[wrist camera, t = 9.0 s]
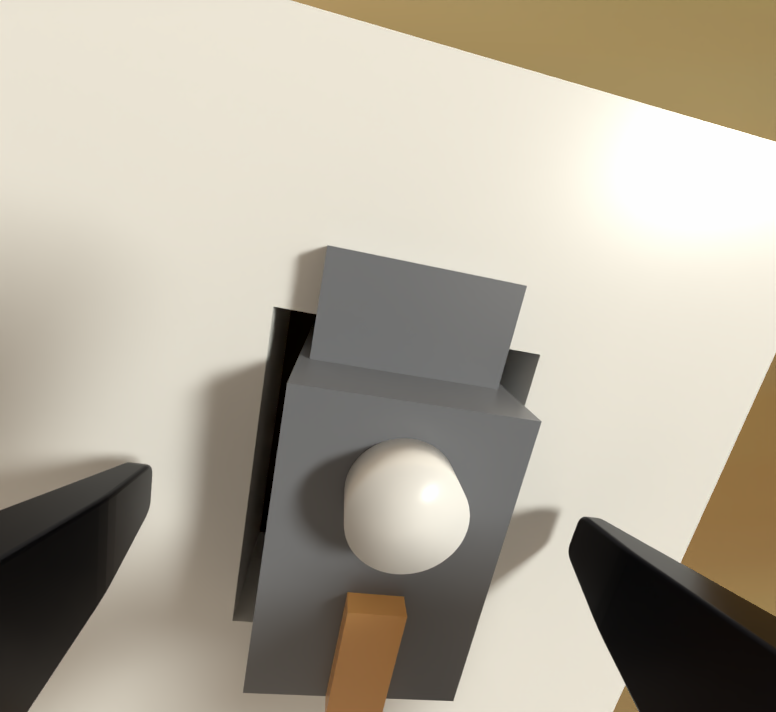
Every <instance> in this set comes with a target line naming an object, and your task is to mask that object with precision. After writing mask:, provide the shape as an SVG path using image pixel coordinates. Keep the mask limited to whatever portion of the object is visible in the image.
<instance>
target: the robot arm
mask: <svg viewBox="0 0 776 712" xmlns="http://www.w3.org/2000/svg"><path fill="white" fill-rule="evenodd" d="M151 488H152V468H151V466H150V465H148V464H141V463H133V462H127V463H124V464H121V465H119V466H116V467H113V468H111V469H108V470H105V471H103V472H100V473H97V474H95V475H92V476H89V477H87V478H84V479H81V480H79V481H76V482H73V483H71V484H68V485H65V486H63V487H60V488H58V489H55V490H52V491H50V492H47V493H44V494H42V495H39V496H36V497H34V498H31V499H28V500H26V501H23V502H20V503H18V504H15V505H12V506H10V507H7V508H4V509H2V510H0V712H28V711H29V709H30V708H31V706H32V705H33V703H34V702H35V700H36V698H37V697H38V695H39V694H40V692H41V691H42V689H43V688H44V686H45V685H46V683H47V682H48V680H49V679H50V677H51V676H52V674H53V673H54V671H55V670H56V668H57V667H58V665H59V664H60V662H61V661H62V659H63V658H64V656H65V655H66V653H67V652H68V650H69V649H70V647H71V646H72V644H73V643H74V641H75V640H76V638H77V636H78V635H79V633H80V632H81V630H82V629H83V627H84V626H85V624H86V623H87V621H88V620H89V618H90V617H91V615H92V614H93V612H94V611H95V609H96V608H97V606H98V605H99V603H100V601H101V600H102V598H103V597H104V595H105V593H106V592H107V590H108V588H109V586H110V584H111V583H112V581H113V579H114V577H115V575H116V573H117V571H118V569H119V567H120V566H121V564H122V562H123V560H124V558H125V556H126V554H127V552H128V550H129V548H130V547H131V545H132V543H133V541H134V539H135V537H136V535H137V533H138V531H139V529H140V527H141V526H142V524H143V522H144V520H145V518H146V516H147V514H148V511H149V508H150V503H151ZM568 553H569V559H570V562H571V564H572V567H573V569H574V571H575V574H576V576H577V579H578V581H579V584H580V586H581V589H582V591H583V594H584V596H585V599H586V601H587V604H588V606H589V609H590V611H591V614H592V616H593V619H594V621H595V623H596V626H597V628H598V630H599V632H600V634H601V637H602V639H603V641H604V643H605V645H606V647H607V649H608V651H609V653H610V655H611V657H612V659H613V661H614V663H615V665H616V667H617V669H618V671H619V673H620V675H621V677H622V679H623V681H624V683H625V685H626V687H627V689H628V691H629V693H630V695H631V697H632V699H633V701H634V703H635V705H636V707H637V709H638V711H639V712H776V617H775V616H773V615H772V614H770V613H768V612H766V611H765V610H763V609H761V608H759V607H757V606H756V605H754V604H752V603H750V602H749V601H747V600H745V599H743V598H741V597H740V596H738V595H736V594H734V593H733V592H731V591H729V590H727V589H726V588H724V587H722V586H720V585H718V584H717V583H715V582H713V581H711V580H710V579H708V578H706V577H704V576H702V575H701V574H699V573H697V572H695V571H694V570H692V569H690V568H688V567H686V566H685V565H683V564H681V563H679V562H678V561H676V560H674V559H672V558H670V557H669V556H667V555H665V554H663V553H662V552H660V551H658V550H656V549H654V548H653V547H651V546H649V545H647V544H646V543H644V542H642V541H640V540H638V539H637V538H635V537H633V536H631V535H630V534H628V533H626V532H624V531H622V530H621V529H619V528H617V527H615V526H614V525H612V524H610V523H608V522H606V521H605V520H603V519H600V518H595V517H582V518H580V519H579V521H578V523H577V526H576V528H575V531H574V534H573V536H572V539H571V542H570V545H569V550H568Z"/></svg>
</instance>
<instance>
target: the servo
mask: <svg viewBox="0 0 776 712" xmlns="http://www.w3.org/2000/svg"><path fill="white" fill-rule="evenodd" d="M526 288H527V286H525V285H521V284H516V283H512V282H507V281H502V280H497V279H492V278H487V277H482V276H477V275H472V274H467V273H462V272H458V271H453V270H448V269H443V268H438V267H433V266H428V265H423V264H418V263H413V262H409V261H404V260H399V259H394V258H389V257H384V256H379V255H374V254H369V253H364V252H359V251H355V250H350V249H345V248H340V247H335V246H330V245H327V250H326V257H325V263H324V270H323V276H322V283H321V289H320V296H319V302H318V308H317V315H316V321H314V323H313V325H312V327H311V330H310V332H309V334H308V336H307V339H306V341H305V343H304V345H303V348H302V350H301V352H300V355H299V357H298V359H297V361H296V364H295V366H294V368H293V371H292V373H291V375H290V377H289V380H288V382H287V387H286V394H285V401H284V408H283V415H282V422H281V429H280V436H279V443H278V450H277V457H276V464H275V471H274V478H273V485H272V492H271V499H270V506H269V513H268V520H267V527H266V534H265V541H264V548H263V555H262V562H261V569H260V576H259V583H258V590H257V597H256V604H255V611H254V618H253V625H252V632H251V639H250V646H249V653H248V660H247V667H246V674H245V681H244V688H243V693H257V694H282V695H308V696H326V698H325V712H383V708H384V704H385V700H386V699H409V700H435V701H454V698H455V694H456V691H457V688H458V685H459V682H460V679H461V675H462V672H463V669H464V666H465V663H466V660H467V656H468V653H469V650H470V647H471V644H472V641H473V637H474V634H475V631H476V628H477V625H478V622H479V618H480V615H481V612H482V609H483V606H484V603H485V599H486V596H487V593H488V590H489V587H490V584H491V580H492V577H493V574H494V571H495V568H496V565H497V561H498V558H499V555H500V552H501V549H502V546H503V542H504V539H505V536H506V533H507V530H508V527H509V523H510V520H511V517H512V514H513V511H514V508H515V504H516V501H517V498H518V495H519V492H520V489H521V486H522V482H523V479H524V476H525V473H526V470H527V467H528V463H529V460H530V457H531V454H532V451H533V448H534V444H535V441H536V438H537V435H538V432H539V429H540V425H541V422H542V421H541V420H539V419H538V418H537V417H536V416H535V415H534V414H533V413H532V412H531V411H529V410H528V409H527V408H526V407H525V406H524V405H523V404H522V403H521V402H519V401H518V400H517V399H516V398H515V397H514V396H513V395H512V394H511V393H509V392H508V391H507V390H506V389H505V388H504V387H503V386H502V385H501V384H500V380H501V377H502V373H503V370H504V366H505V363H506V359H507V355H508V352H509V348H510V345H511V341H512V338H513V334H514V331H515V327H516V323H517V320H518V316H519V313H520V309H521V306H522V302H523V299H524V295H525V291H526Z"/></svg>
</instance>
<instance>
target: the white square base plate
mask: <svg viewBox="0 0 776 712" xmlns="http://www.w3.org/2000/svg"><path fill="white" fill-rule="evenodd" d="M327 245H330V246H335V247H340V248H345V249H350V250H355V251H359V252H364V253H369V254H374V255H379V256H384V257H389V258H394V259H399V260H404V261H409V262H413V263H418V264H423V265H428V266H433V267H438V268H443V269H448V270H453V271H458V272H462V273H467V274H472V275H477V276H482V277H487V278H492V279H497V280H502V281H507V282H512V283H516V284H521V285H525V286H527V288H526V291H525V295H524V299H523V302H522V306H521V309H520V313H519V316H518V320H517V323H516V327H515V331H514V334H513V338H512V341H511V345H510V348H509V352H508V355H507V359H506V363H505V366H504V370H503V373H502V377H501V380H500V384H501V385H502V386H503V387H504V388H505V389H506V390H507V391H508V392H509V393H511V394H512V395H513V396H514V397H515V398H516V399H517V400H518V401H519V402H521V403H522V404H523V405H524V406H525V407H526V408H527V409H528V410H529V411H531V412H532V413H533V414H534V415H535V416H536V417H537V418H538V419H539V420H541V421H542V422H541V425H540V429H539V432H538V435H537V438H536V441H535V444H534V448H533V451H532V454H531V457H530V460H529V463H528V467H527V470H526V473H525V476H524V479H523V482H522V486H521V489H520V492H519V495H518V498H517V501H516V504H515V508H514V511H513V514H512V517H511V520H510V523H509V527H508V530H507V533H506V536H505V539H504V542H503V546H502V549H501V552H500V555H499V558H498V561H497V565H496V568H495V571H494V574H493V577H492V580H491V584H490V587H489V590H488V593H487V596H486V599H485V603H484V606H483V609H482V612H481V615H480V618H479V622H478V625H477V628H476V631H475V634H474V637H473V641H472V644H471V647H470V650H469V653H468V656H467V660H466V663H465V666H464V669H463V672H462V675H461V679H460V682H459V685H458V688H457V691H456V694H455V698H454V701H435V700H409V699H386V700H385V704H384V708H383V712H613V710H614V708H615V706H616V704H617V702H618V699H619V697H620V695H621V693H622V691H623V688H624V686H625V683H624V681H623V679H622V677H621V675H620V673H619V671H618V669H617V667H616V665H615V663H614V661H613V659H612V657H611V655H610V653H609V651H608V649H607V647H606V645H605V643H604V641H603V639H602V637H601V634H600V632H599V630H598V628H597V626H596V623H595V621H594V619H593V616H592V614H591V611H590V609H589V606H588V604H587V601H586V599H585V596H584V594H583V591H582V589H581V586H580V584H579V581H578V579H577V576H576V574H575V571H574V569H573V567H572V564H571V562H570V559H569V553H568V550H569V545H570V542H571V539H572V536H573V534H574V531H575V528H576V526H577V523H578V521H579V519H580V518H582V517H595V518H600V519H603V520H605V521H606V522H608V523H610V524H612V525H614V526H615V527H617V528H619V529H621V530H622V531H624V532H626V533H628V534H630V535H631V536H633V537H635V538H637V539H638V540H640V541H642V542H644V543H646V544H647V545H649V546H651V547H653V548H654V549H656V550H658V551H660V552H662V553H663V554H665V555H667V556H669V557H670V558H672V559H674V560H676V561H678V562H679V563H681V560H682V558H683V556H684V554H685V552H686V549H687V547H688V545H689V543H690V541H691V538H692V536H693V534H694V532H695V529H696V527H697V525H698V523H699V521H700V518H701V516H702V514H703V512H704V510H705V507H706V505H707V503H708V501H709V499H710V496H711V494H712V492H713V490H714V488H715V485H716V483H717V481H718V479H719V477H720V474H721V472H722V470H723V468H724V466H725V463H726V461H727V459H728V457H729V454H730V452H731V450H732V448H733V446H734V443H735V441H736V439H737V437H738V435H739V432H740V430H741V428H742V426H743V424H744V421H745V419H746V417H747V415H748V413H749V410H750V408H751V406H752V404H753V402H754V399H755V397H756V395H757V393H758V390H759V388H760V386H761V384H762V382H763V379H764V377H765V375H766V373H767V371H768V368H769V366H770V364H771V362H772V360H773V357H774V355H775V353H776V142H774V141H771V140H767V139H764V138H760V137H757V136H753V135H750V134H747V133H743V132H740V131H736V130H733V129H729V128H726V127H723V126H719V125H716V124H712V123H709V122H705V121H702V120H699V119H695V118H692V117H688V116H685V115H681V114H678V113H675V112H671V111H668V110H664V109H661V108H657V107H654V106H651V105H647V104H644V103H640V102H637V101H633V100H630V99H627V98H623V97H620V96H616V95H613V94H609V93H606V92H603V91H599V90H596V89H592V88H589V87H586V86H582V85H579V84H575V83H572V82H568V81H565V80H562V79H558V78H555V77H551V76H548V75H544V74H541V73H538V72H534V71H531V70H527V69H524V68H520V67H517V66H514V65H510V64H507V63H503V62H500V61H496V60H493V59H490V58H486V57H483V56H479V55H476V54H472V53H469V52H466V51H462V50H459V49H455V48H452V47H448V46H445V45H442V44H438V43H435V42H431V41H428V40H424V39H421V38H418V37H414V36H411V35H407V34H404V33H400V32H397V31H394V30H390V29H387V28H383V27H380V26H377V25H373V24H370V23H366V22H363V21H359V20H356V19H353V18H349V17H346V16H342V15H339V14H335V13H332V12H329V11H325V10H322V9H318V8H315V7H311V6H308V5H305V4H301V3H298V2H294V1H291V0H0V510H2V509H4V508H7V507H10V506H12V505H15V504H18V503H20V502H23V501H26V500H28V499H31V498H34V497H36V496H39V495H42V494H44V493H47V492H50V491H52V490H55V489H58V488H60V487H63V486H65V485H68V484H71V483H73V482H76V481H79V480H81V479H84V478H87V477H89V476H92V475H95V474H97V473H100V472H103V471H105V470H108V469H111V468H113V467H116V466H119V465H121V464H124V463H127V462H133V463H141V464H148V465H150V466H151V468H152V488H151V503H150V508H149V511H148V514H147V516H146V518H145V520H144V522H143V524H142V526H141V527H140V529H139V531H138V533H137V535H136V537H135V539H134V541H133V543H132V545H131V547H130V548H129V550H128V552H127V554H126V556H125V558H124V560H123V562H122V564H121V566H120V567H119V569H118V571H117V573H116V575H115V577H114V579H113V581H112V583H111V584H110V586H109V588H108V590H107V592H106V593H105V595H104V597H103V598H102V600H101V601H100V603H99V605H98V606H97V608H96V609H95V611H94V612H93V614H92V615H91V617H90V618H89V620H88V621H87V623H86V624H85V626H84V627H83V629H82V630H81V632H80V633H79V635H78V636H77V638H76V640H75V641H74V643H73V644H72V646H71V647H70V649H69V650H68V652H67V653H66V655H65V656H64V658H63V659H62V661H61V662H60V664H59V665H58V667H57V668H56V670H55V671H54V673H53V674H52V676H51V677H50V679H49V680H48V682H47V683H46V685H45V686H44V688H43V689H42V691H41V692H40V694H39V695H38V697H37V698H36V700H35V702H34V703H33V705H32V706H31V708H30V709H29V711H28V712H325V698H326V696H308V695H282V694H257V693H243V688H244V681H245V674H246V667H247V660H248V653H249V646H250V639H251V632H252V625H253V618H254V611H255V604H256V597H257V590H258V583H259V576H260V569H261V562H262V555H263V548H264V541H265V534H266V532H260V526H261V519H262V512H263V505H264V498H265V490H266V483H267V476H268V469H269V462H270V455H271V448H272V441H273V434H274V427H275V420H276V413H277V406H278V399H279V392H280V384H281V377H282V370H283V363H284V356H285V349H286V342H287V335H288V328H289V321H290V314H291V310H295V311H301V312H306V313H312V314H317V308H318V302H319V296H320V289H321V283H322V276H323V270H324V263H325V257H326V250H327Z"/></svg>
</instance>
